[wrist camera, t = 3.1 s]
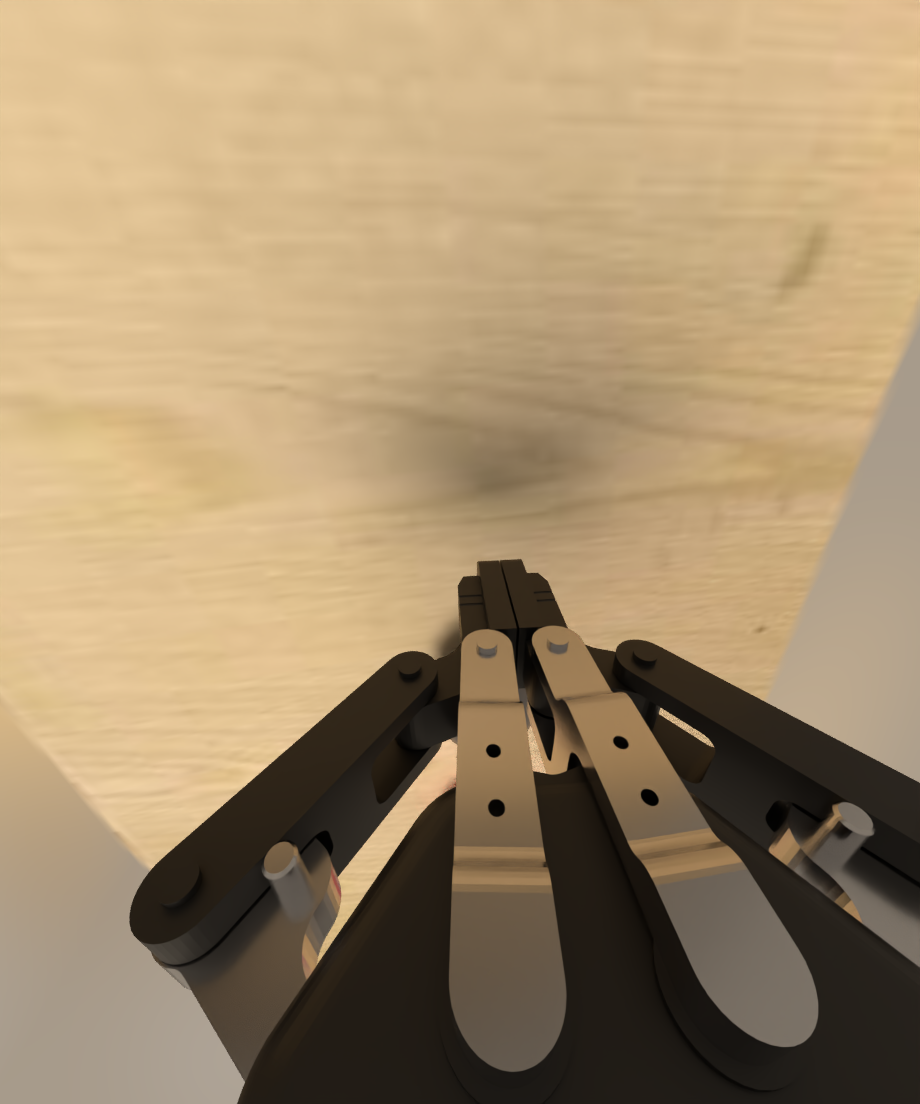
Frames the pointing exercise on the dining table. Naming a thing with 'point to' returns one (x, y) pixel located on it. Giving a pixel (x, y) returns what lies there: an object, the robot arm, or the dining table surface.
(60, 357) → the dining table surface
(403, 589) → the dining table surface
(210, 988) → the robot arm
